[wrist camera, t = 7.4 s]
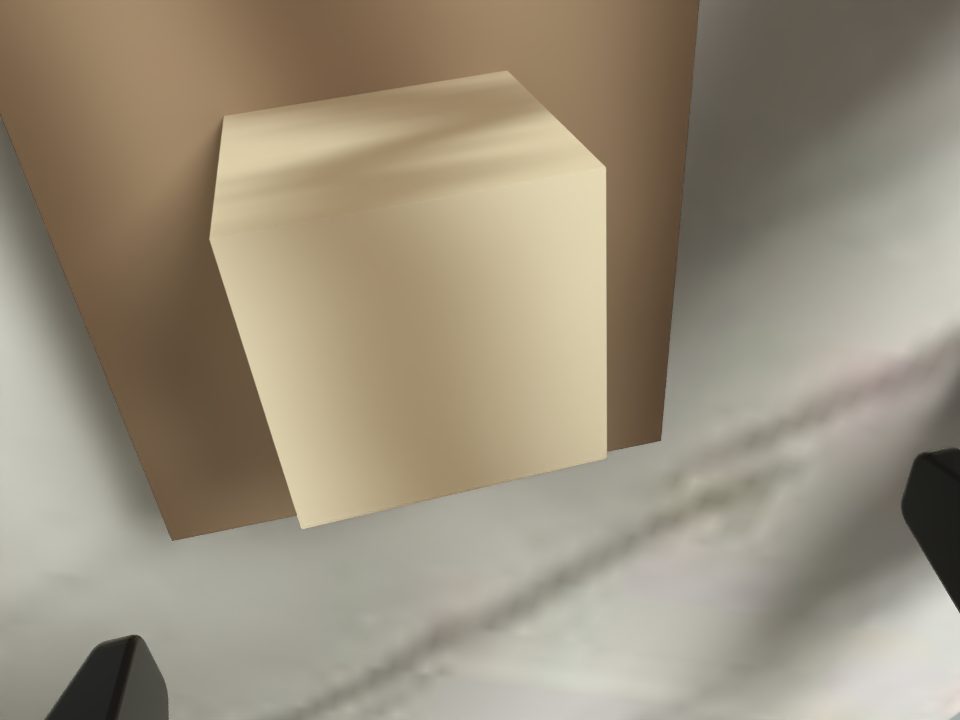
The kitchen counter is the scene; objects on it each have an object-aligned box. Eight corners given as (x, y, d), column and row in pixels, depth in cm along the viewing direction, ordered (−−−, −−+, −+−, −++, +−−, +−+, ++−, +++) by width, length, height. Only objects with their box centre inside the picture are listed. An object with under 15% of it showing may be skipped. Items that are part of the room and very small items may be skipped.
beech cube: (506, 70, 14) (606, 167, 10) (524, 308, 17) (606, 458, 13) (223, 115, 14) (208, 239, 10) (291, 356, 16) (301, 529, 12)
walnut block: (624, -238, 16) (721, -255, 12) (605, 355, 23) (660, 440, 20) (-36, -194, 14) (-127, -199, 10) (185, 434, 22) (172, 540, 18)
